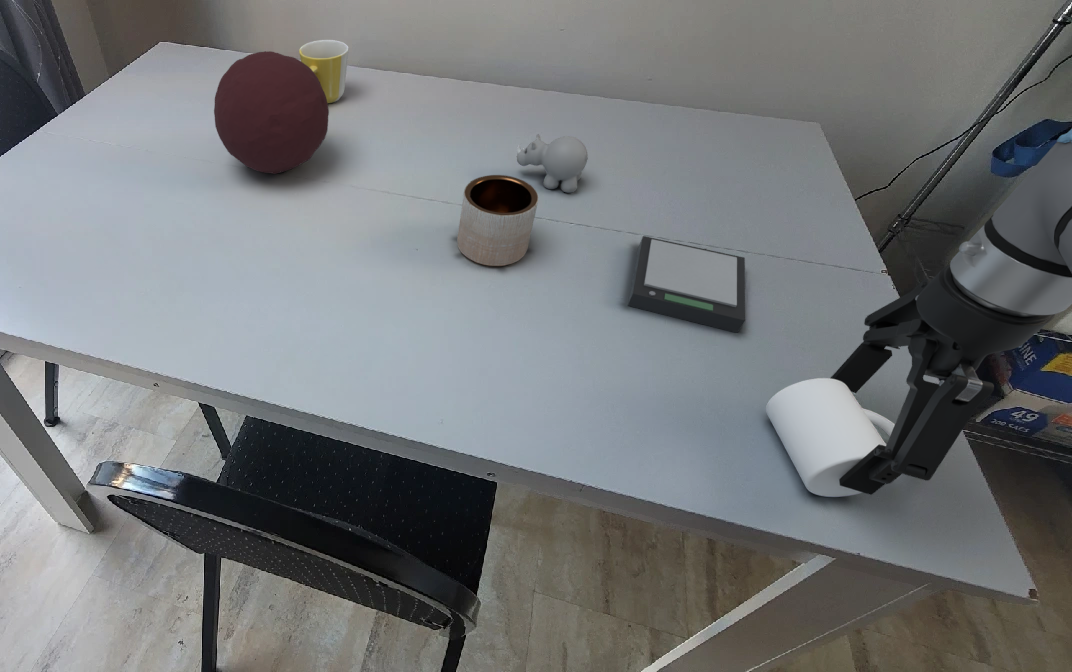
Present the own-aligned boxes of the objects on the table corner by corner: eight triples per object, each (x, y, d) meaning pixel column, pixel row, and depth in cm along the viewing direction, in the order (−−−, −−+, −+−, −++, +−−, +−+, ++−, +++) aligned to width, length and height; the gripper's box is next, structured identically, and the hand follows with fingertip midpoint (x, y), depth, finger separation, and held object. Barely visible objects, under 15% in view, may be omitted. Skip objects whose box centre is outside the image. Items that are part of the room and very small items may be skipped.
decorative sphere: (235, 139, 119) (215, 34, 105) (334, 138, 118) (328, 32, 104) (216, 195, 106) (191, 83, 91) (328, 195, 105) (320, 81, 90)
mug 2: (791, 496, 63) (833, 456, 58) (752, 419, 70) (786, 376, 64) (909, 499, 63) (964, 459, 57) (858, 421, 70) (902, 378, 64)
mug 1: (322, 83, 136) (319, 35, 128) (359, 94, 132) (358, 45, 124) (283, 107, 128) (278, 57, 121) (321, 119, 124) (318, 68, 116)
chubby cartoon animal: (518, 163, 110) (527, 119, 104) (584, 178, 106) (597, 133, 100) (506, 182, 106) (514, 137, 100) (574, 199, 102) (587, 153, 96)
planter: (444, 253, 93) (450, 200, 86) (475, 218, 99) (483, 166, 92) (509, 278, 88) (521, 225, 81) (537, 239, 95) (550, 187, 88)
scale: (737, 333, 80) (747, 318, 78) (627, 305, 84) (633, 291, 82) (737, 270, 88) (746, 255, 86) (637, 248, 92) (643, 233, 90)
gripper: (917, 194, 57) (801, 343, 72) (981, 386, 41) (816, 522, 57) (1015, 211, 54) (873, 361, 70) (1120, 421, 39) (909, 552, 55)
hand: (847, 434), depth 64 cm, fingers open, 13 cm apart
